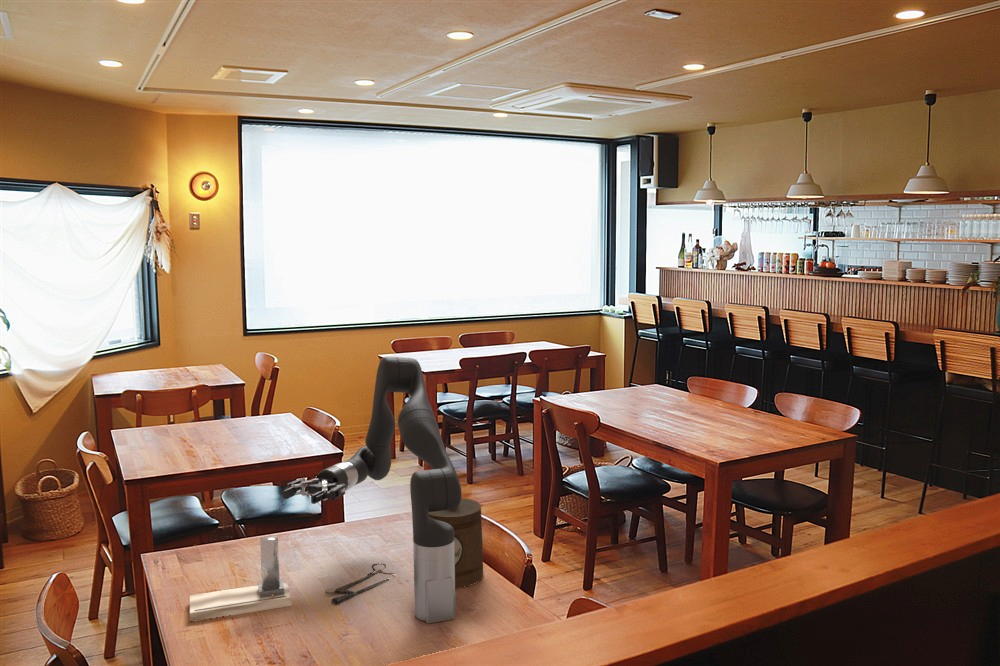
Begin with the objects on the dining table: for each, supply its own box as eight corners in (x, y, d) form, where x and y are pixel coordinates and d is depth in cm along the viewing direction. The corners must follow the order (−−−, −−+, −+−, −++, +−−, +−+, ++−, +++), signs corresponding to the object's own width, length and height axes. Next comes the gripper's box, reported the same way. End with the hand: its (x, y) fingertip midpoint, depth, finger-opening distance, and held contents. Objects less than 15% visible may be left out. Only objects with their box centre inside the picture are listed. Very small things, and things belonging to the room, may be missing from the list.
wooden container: (411, 577, 208) (409, 492, 205) (454, 560, 218) (452, 479, 216) (453, 594, 198) (451, 505, 195) (495, 575, 208) (494, 490, 206)
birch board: (291, 605, 192) (291, 597, 192) (190, 621, 185) (189, 613, 184) (286, 588, 202) (286, 580, 201) (190, 603, 194) (189, 595, 194)
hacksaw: (335, 607, 192) (335, 601, 192) (306, 596, 198) (306, 590, 198) (407, 573, 211) (407, 567, 211) (379, 563, 217) (378, 558, 217)
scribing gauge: (285, 596, 193) (282, 542, 191) (260, 600, 191) (258, 545, 189) (282, 585, 199) (279, 533, 197) (258, 588, 197) (255, 536, 195)
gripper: (314, 462, 220) (274, 479, 206) (359, 468, 214) (321, 486, 200) (315, 489, 221) (275, 508, 207) (360, 496, 215) (322, 516, 201)
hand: (298, 497), depth 203 cm, fingers open, 8 cm apart
